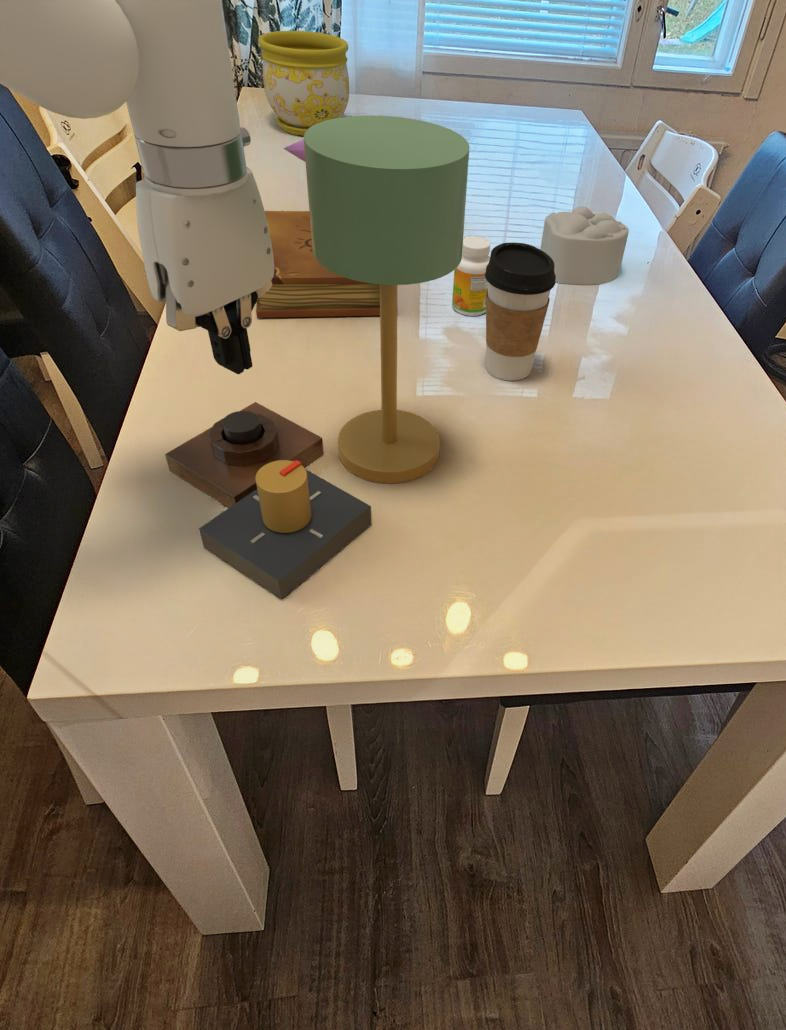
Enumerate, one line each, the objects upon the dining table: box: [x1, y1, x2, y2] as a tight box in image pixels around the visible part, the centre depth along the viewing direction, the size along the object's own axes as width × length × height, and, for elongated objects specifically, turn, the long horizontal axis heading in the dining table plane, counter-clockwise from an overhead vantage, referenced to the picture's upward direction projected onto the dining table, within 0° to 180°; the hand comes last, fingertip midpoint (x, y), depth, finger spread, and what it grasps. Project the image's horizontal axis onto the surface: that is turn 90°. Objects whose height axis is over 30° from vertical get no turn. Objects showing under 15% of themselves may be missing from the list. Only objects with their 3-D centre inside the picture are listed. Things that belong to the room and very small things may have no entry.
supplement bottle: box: [451, 235, 491, 317], centre depth 99 cm, size 5×5×10 cm
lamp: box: [303, 115, 470, 484], centre depth 67 cm, size 13×13×32 cm
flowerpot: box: [257, 30, 350, 137], centre depth 150 cm, size 18×18×16 cm
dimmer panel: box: [198, 468, 372, 600], centre depth 66 cm, size 12×10×3 cm
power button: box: [222, 410, 262, 445], centre depth 71 cm, size 4×4×2 cm
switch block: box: [164, 401, 324, 509], centre depth 73 cm, size 12×10×4 cm
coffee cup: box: [485, 242, 557, 382], centre depth 86 cm, size 8×8×15 cm
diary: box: [255, 210, 380, 319], centre depth 103 cm, size 23×19×6 cm
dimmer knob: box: [256, 460, 312, 533], centre depth 63 cm, size 4×4×5 cm
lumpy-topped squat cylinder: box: [539, 206, 630, 286], centre depth 112 cm, size 10×13×9 cm
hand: (234, 365), depth 66 cm, fingers closed
